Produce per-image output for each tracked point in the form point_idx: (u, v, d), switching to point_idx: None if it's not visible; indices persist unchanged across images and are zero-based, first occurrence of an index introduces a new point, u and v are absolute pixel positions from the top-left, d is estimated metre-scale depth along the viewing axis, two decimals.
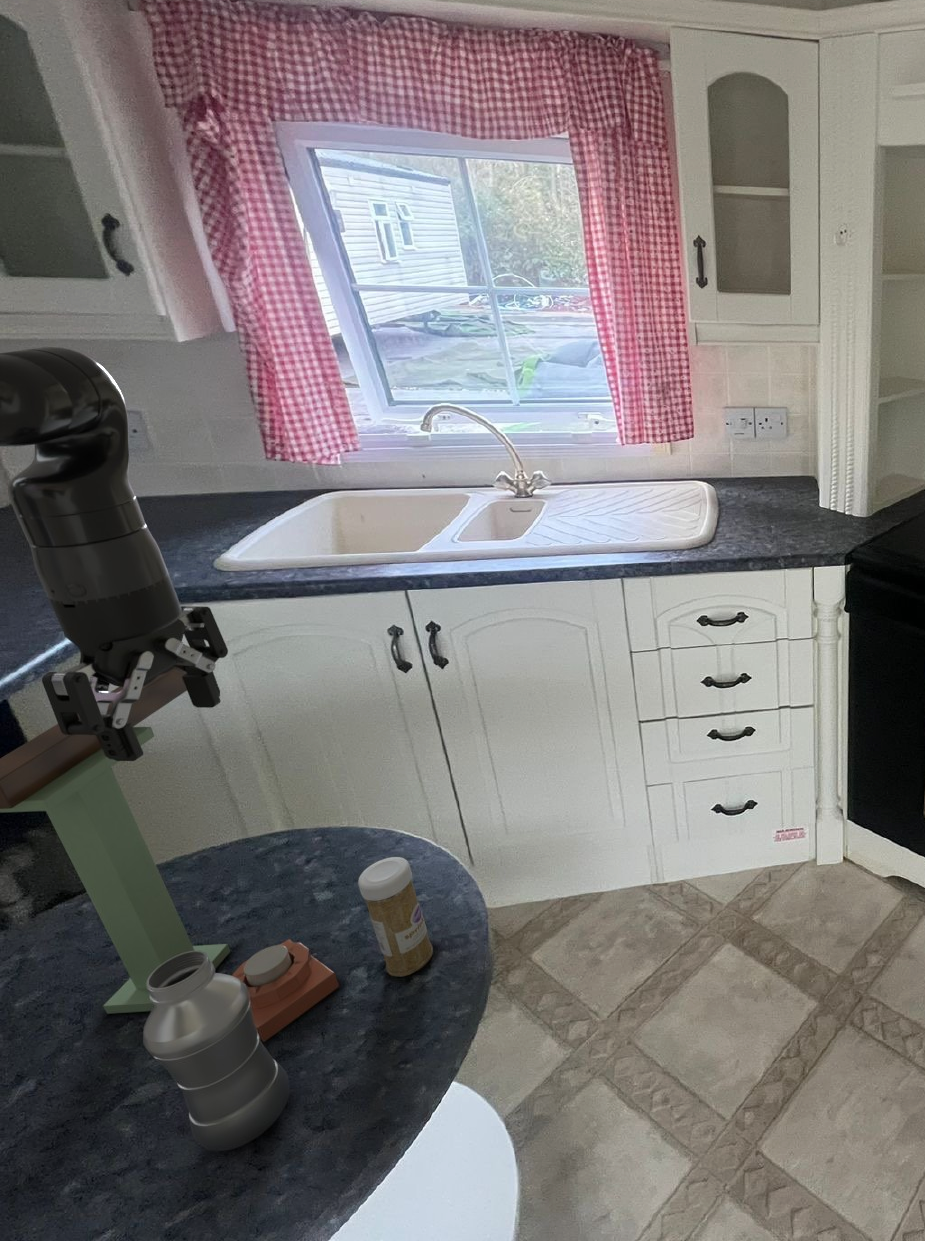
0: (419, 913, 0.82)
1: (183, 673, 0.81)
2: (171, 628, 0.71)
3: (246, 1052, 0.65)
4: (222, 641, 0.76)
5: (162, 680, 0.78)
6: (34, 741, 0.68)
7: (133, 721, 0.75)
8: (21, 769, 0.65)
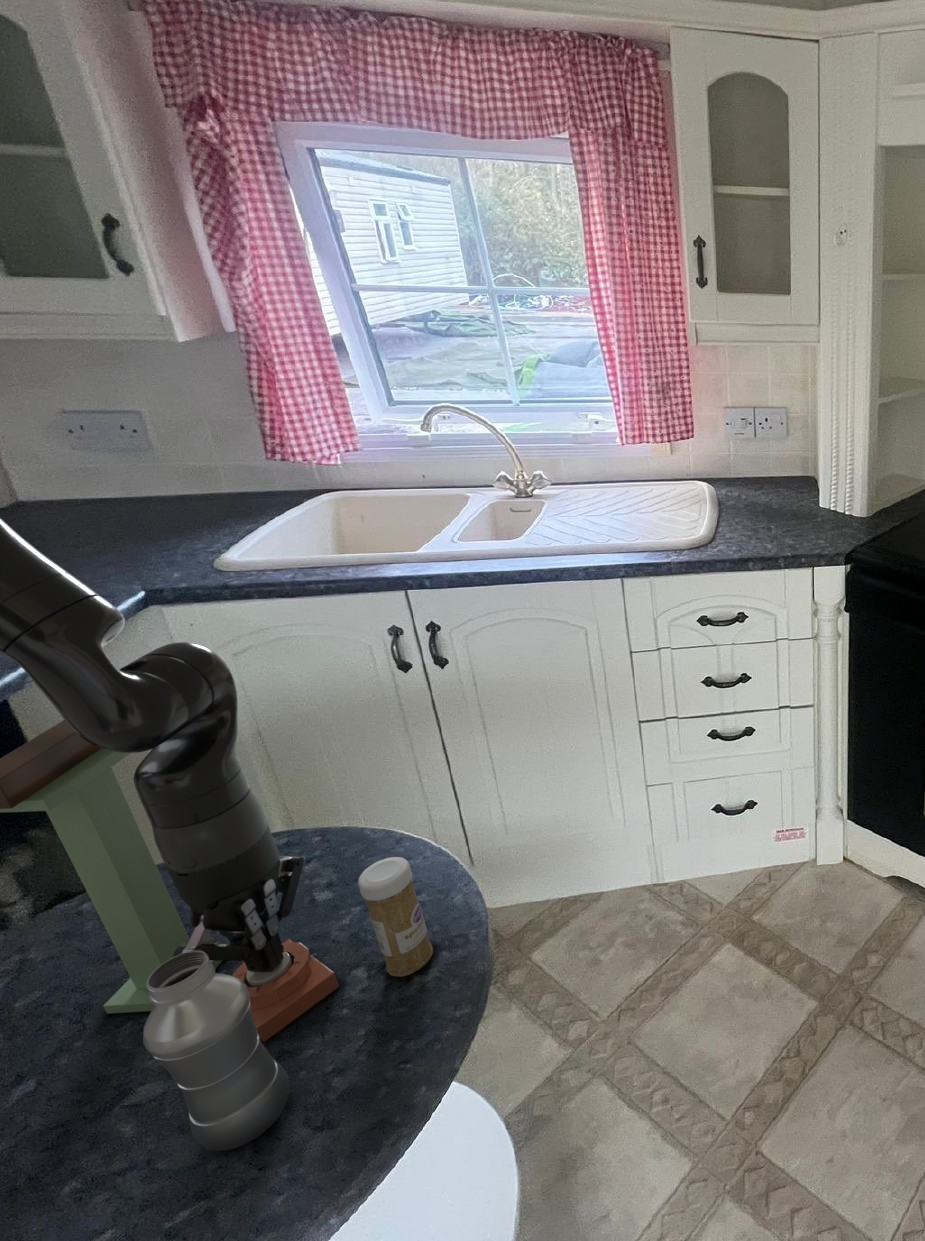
0: (419, 913, 0.82)
1: None
2: None
3: (246, 1052, 0.65)
4: (292, 899, 0.80)
5: None
6: (34, 741, 0.68)
7: None
8: (21, 769, 0.65)
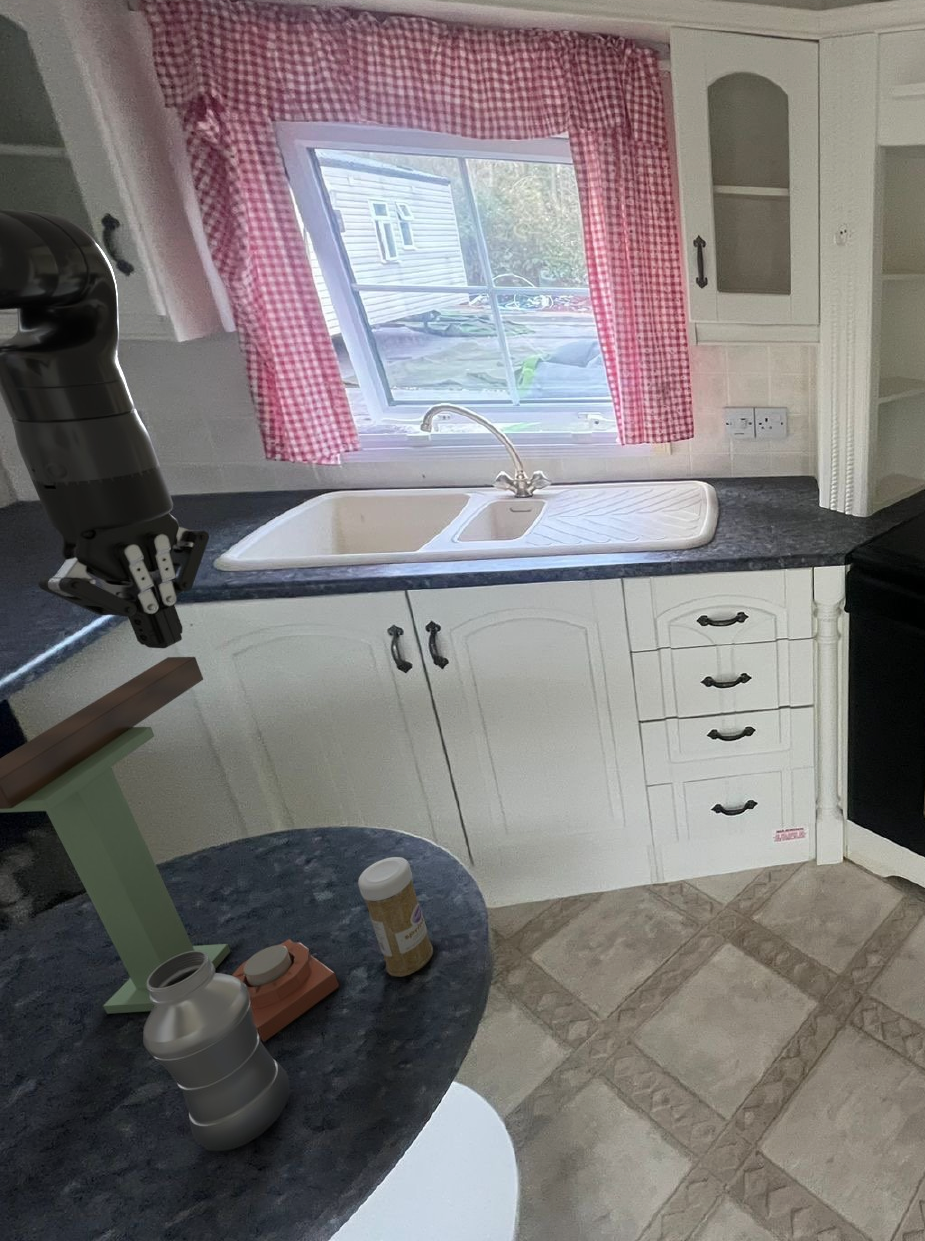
0: (419, 913, 0.82)
1: (183, 673, 0.81)
2: (166, 521, 0.68)
3: (246, 1052, 0.65)
4: (194, 575, 0.70)
5: (162, 680, 0.78)
6: (34, 741, 0.68)
7: (133, 721, 0.75)
8: (21, 769, 0.65)
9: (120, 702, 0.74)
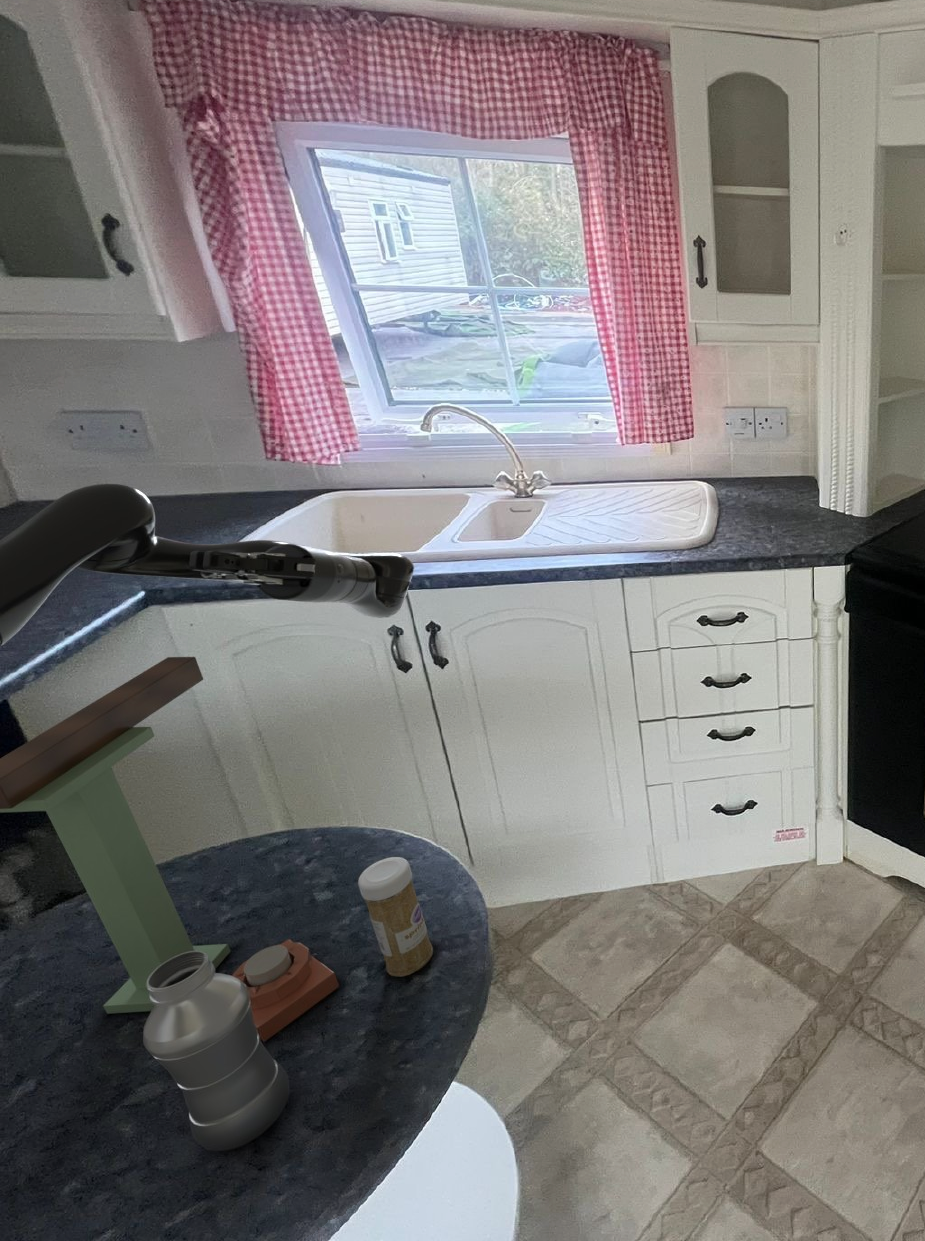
0: (419, 913, 0.82)
1: (183, 673, 0.81)
2: None
3: (246, 1052, 0.65)
4: (275, 555, 0.91)
5: (162, 680, 0.78)
6: (34, 741, 0.68)
7: (133, 721, 0.75)
8: (21, 769, 0.65)
9: (120, 702, 0.74)
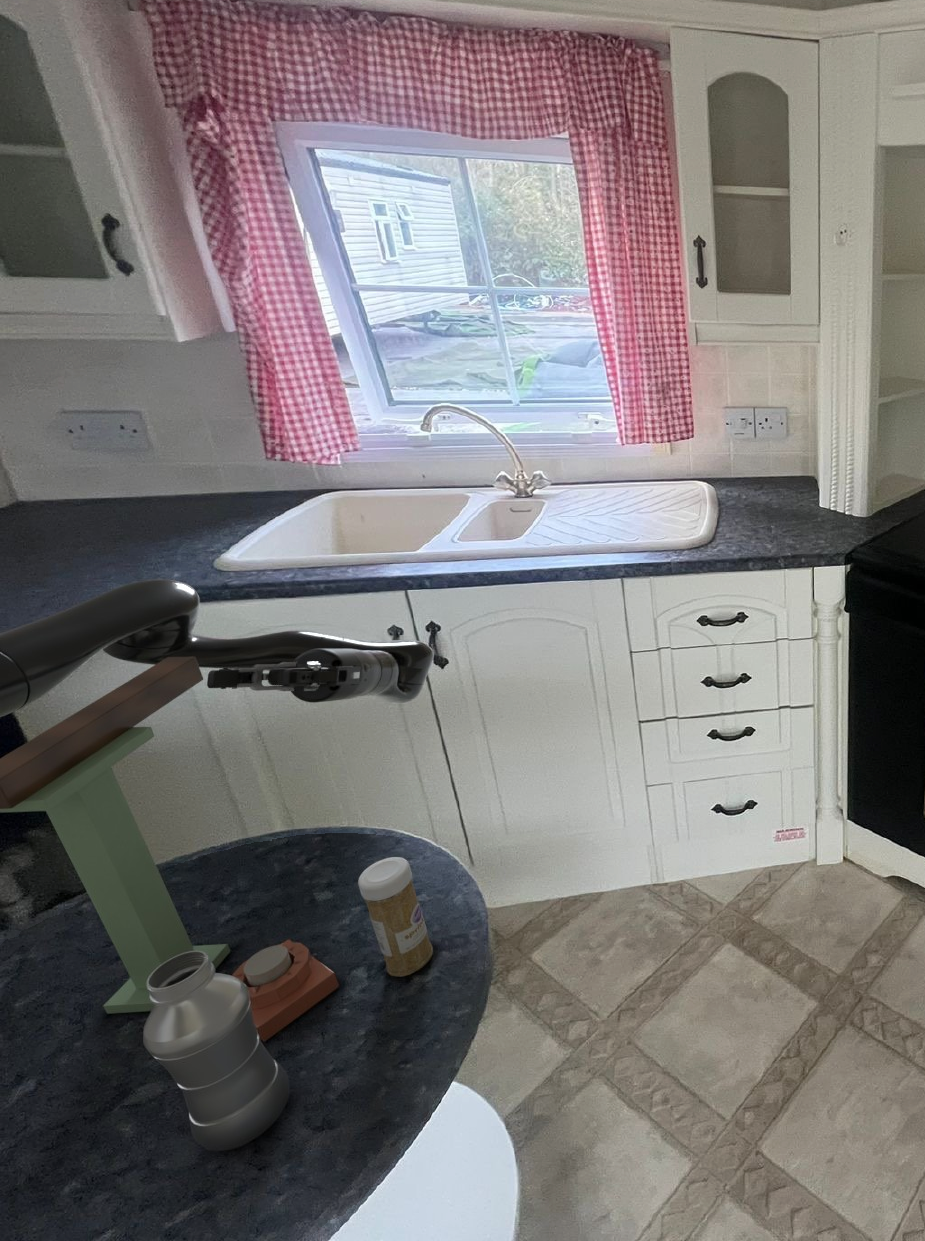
0: (419, 913, 0.82)
1: (183, 673, 0.81)
2: (326, 667, 1.02)
3: (246, 1052, 0.65)
4: (342, 666, 0.98)
5: (162, 680, 0.78)
6: (34, 741, 0.68)
7: (133, 721, 0.75)
8: (21, 769, 0.65)
9: (120, 702, 0.74)
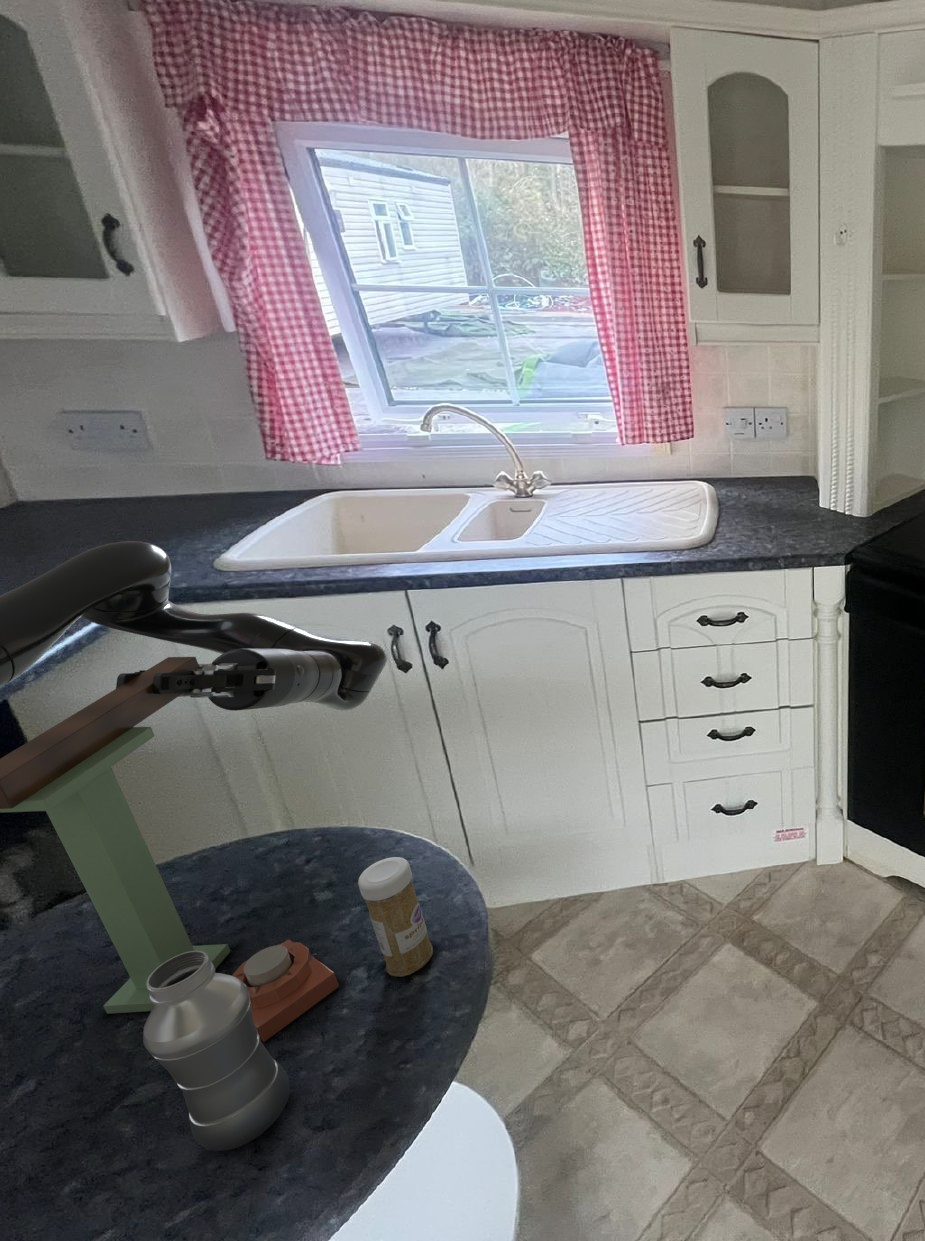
0: (419, 913, 0.82)
1: None
2: None
3: (246, 1052, 0.65)
4: (234, 670, 0.83)
5: None
6: (34, 740, 0.68)
7: (133, 721, 0.75)
8: (21, 769, 0.65)
9: (121, 702, 0.74)
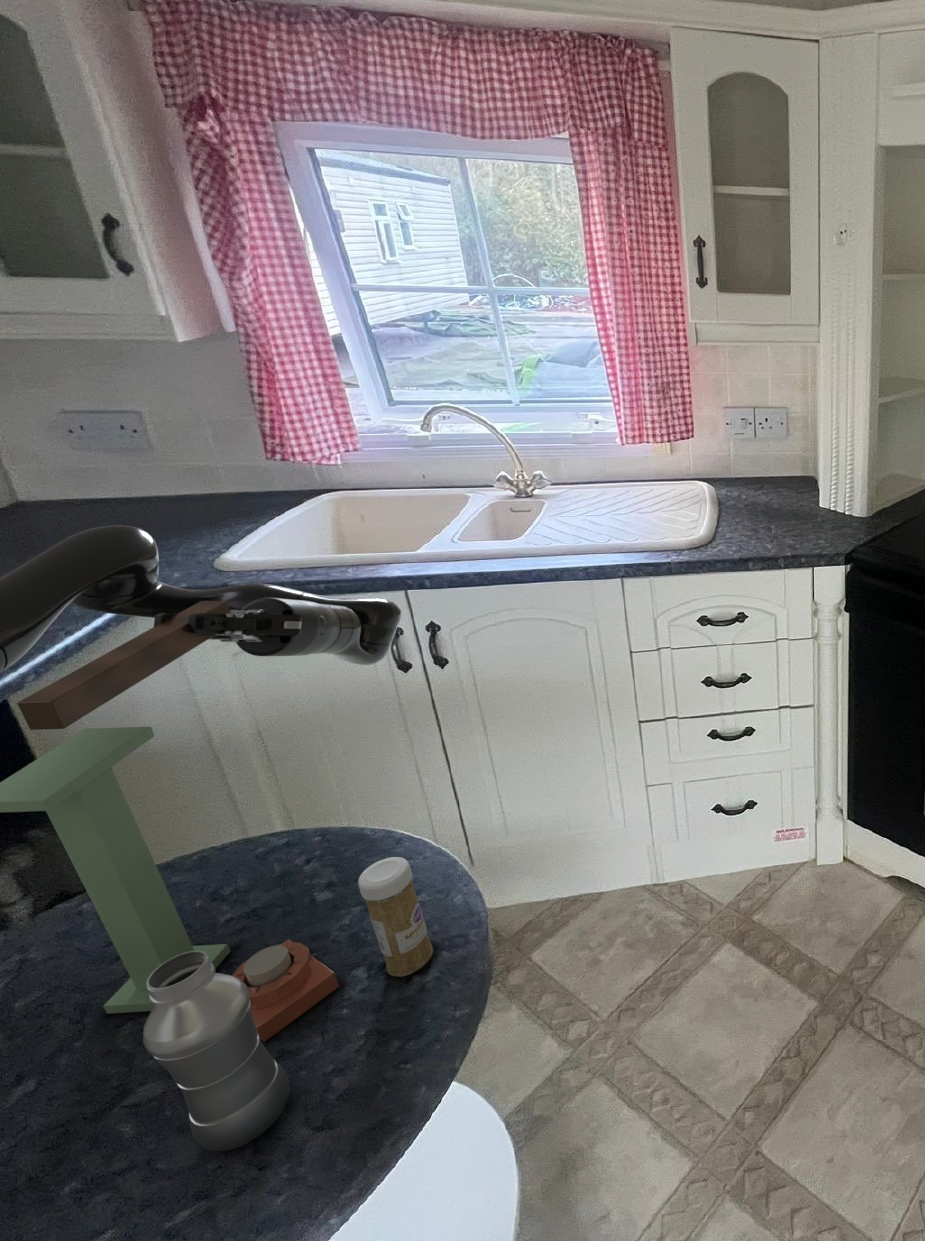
0: (419, 913, 0.82)
1: None
2: None
3: (246, 1052, 0.65)
4: (263, 614, 0.88)
5: None
6: (81, 669, 0.72)
7: (171, 657, 0.79)
8: (71, 692, 0.69)
9: (159, 638, 0.78)
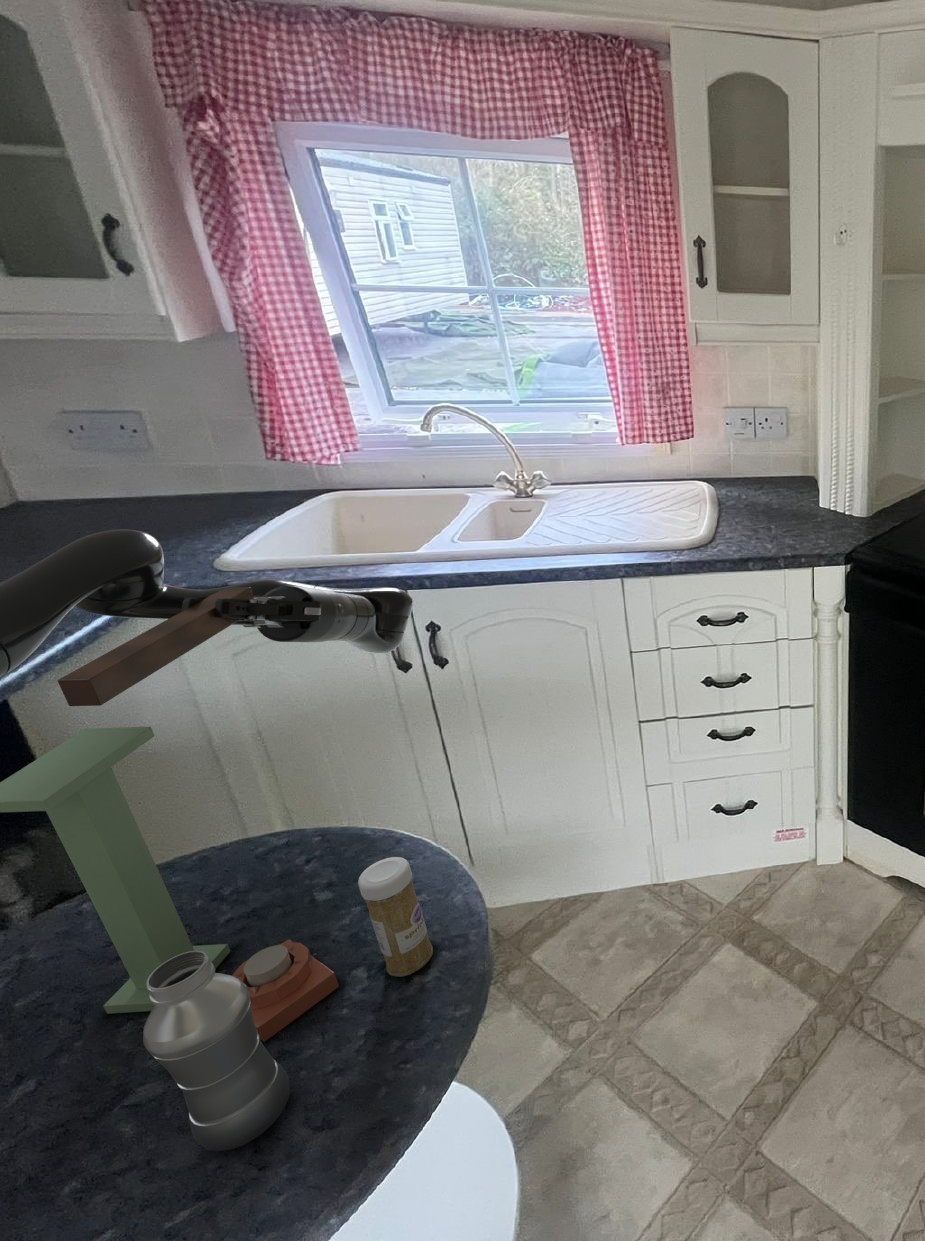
0: (419, 913, 0.82)
1: None
2: None
3: (246, 1052, 0.65)
4: (285, 600, 0.91)
5: None
6: (116, 650, 0.76)
7: (199, 640, 0.83)
8: (108, 671, 0.73)
9: (188, 621, 0.82)
